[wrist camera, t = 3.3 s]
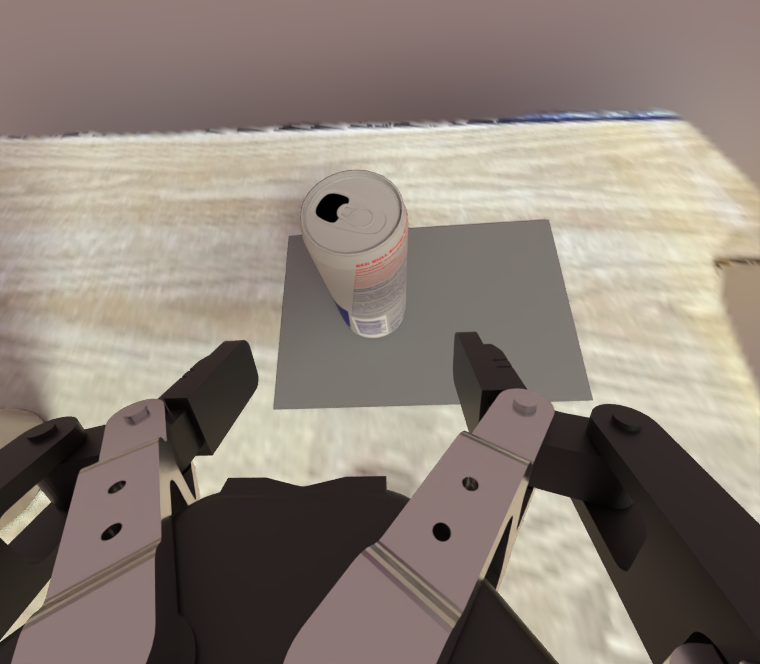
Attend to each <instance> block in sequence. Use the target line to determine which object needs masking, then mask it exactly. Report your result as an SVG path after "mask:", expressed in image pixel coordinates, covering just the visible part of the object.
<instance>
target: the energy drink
mask: <svg viewBox="0 0 760 664" xmlns="http://www.w3.org/2000/svg"><path fill="white" fill-rule="evenodd" d="M300 219H301V225H302V236H303V240H304V243H305V245H306V247H307V249H308V251H309V253H310V255H311V257H312V259H313V261H314V263H315V265H316V267H317V269H318V271H319V273H320V275H321V277H322V279H323V281H324V282H325V284H326V286H327V288H328V290H329V292H330V294H331V296H332V298H333V300H334V302H335V304H336V306H337V308H338V310H339V312H340V314H341V316H342V317H343V319H344V321H345V323H346V325H347V326H348V327H349V329H350V330H352V331H353V332H354V333H356V334H357V335H359V336H362V337H365V338H380V337H384V336H386V335H388V334H390V333H392V332H393V331H395V330H396V329H397V328H398V327H399V325H400V324H401V322H402V321H403V318H404V316H405V310H406V283H407V252H408V214H407V210H406V207H405V205H404V203H403V200H402V196H401V194H400V192H399V191H398V189H397V187H396V186H395V185H394V184H393V183H392V182H391V181H390V180H388V179H387V178H385V177H384V176H382V175H379V174H377V173H374V172H370V171H366V170H347V171H343V172H339V173H336V174H333V175H331V176H328V177H327V178H325V179H323V180H322V181H320V182H319V183H318V184H317V185H315V186H314V187H313V188H312V189H311V191H310V192H309V193H308V194H307V196H306V198H305V200H304V202H303V205H302V208H301V216H300Z"/></svg>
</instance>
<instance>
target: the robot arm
mask: <svg viewBox="0 0 760 664" xmlns="http://www.w3.org/2000/svg"><path fill="white" fill-rule="evenodd" d="M453 380H454V385H455V388H456V391H457V394H458V398H459V401H460V404H461V407H462V411H463V414H464V417H465V420H466V424H467V427H468V430H469V432H466V431H462V432H461V433H460V434H459V435H458V436H457V438H456V439H455V440H454V442H453V443H452V444H451V446H450V447H449V448H448V450H447V451H446V452H445V454H444V455H443V456H442V458H441V459H440V460H439V462H438V463H437V464H436V466H435V467H434V468H433V470H432V471H431V472H430V474H429V475H428V476H427V478H426V479H425V480H424V482H423V483H422V484H421V486H420V487H419V488H418V490H417V491H416V492H415V494H414V495H413V496H412V498H411V499H410V498H408V497H406V496H404V495H402V494H399V493H397V492H394V491H390V490H387V481H386V476H363V477H343V478H339V479H335V480H330V481H326V482H322V483H318V484H314V485H309V486H297V485H293V484H289V483H285V482H281V481H277V480H273V479H270V478H228V479H227V481H226V483H225V484H224V486H223V488H222V490H221V491H220V492H219V493H216V494H213V495H210V496H207V497H204V498H202V499H200V493H199V487H198V481H197V475H196V469H195V466H194V464H193V462H192V460H193V459H194V457H195V456H208V455H213V454H214V452H215V451H216V449H217V448H218V446H219V445H220V443H221V442H222V440H223V439H224V437H225V436H226V434H227V433H228V431H229V430H230V428H231V427H232V425H233V424H234V422H235V421H236V419H237V418H238V416H239V415H240V413H241V412H242V410H243V409H244V407H245V406H246V404H247V403H248V401H249V400H250V398H251V397H252V395H253V394H254V392H255V390H256V389H257V386H258V373H257V369H256V366H255V362H254V359H253V355H252V352H251V349H250V346H249V344H248V342H247V341H245V340H239V341H225V342H223V343H222V344H221V345H220V346H219V347H218V348H217V349H216V350H214V351H213V352H212V353H211V354H210V355H209V356H207V357H205V358H204V359H202V360H200V361H198V362H197V363H196V364H195V365H194V366H193V367H192V368H191V369H190V371H188V372H187V373H185V374H184V375H183V376H182V378H180V379H179V380H178V381H177V382H176V383H175V384H173V385H172V386H171V387H170V388H169V389H168V390H167V391H166V392H165V393H164V394H163V395H161V396H160V397H159V398H158V399H147V400H143V401H139V402H136V403H134V404H131V405H129V406H127V407H125V408H123V409H121V410H120V411H118V412H117V413H115V414H114V415H113V416H112V417H111V418H110V419H109V420H108V422H107V423H106V425H102V426H98V427H93V428H89V429H84V428H83V427H82V425H81V424H80V422H79V421H78V419H77V418H75V417H61V418H56V419H53V420H50V421H47V422H43V421H42V420H41V418H40V417H39V416H37V415H35V414H34V413H32V412H30V411H25V410H21V409H6V408H0V529H2V528H3V527H5V526H6V525H7V524H9V523H10V522H12V521H13V520H14V519H15V518H16V517H17V516H19V515H20V514H21V513H22V512H23V511H24V510H25V509H26V507H27V506H28V505H29V504H30V502H31V501H32V500H33V499H34V497H35V496H36V494H37V492H38V491H39V489H41V490H42V491H43V492H44V494H45V495H46V496H47V497H48V498H49V500H50V501H51V503H50V504H49V505H48V506H47V507H46V508H45V509H44V510H43V511H42V512H41V513H40V514H39V515H38V516H37V517H36V518H35V519H34V520H33V521H32V522H31V523H30V524H29V525H28V526H27V527H26V528H25V529H24V530H23V531H22V532H21V533H20V534H19V535H18V536H17V537H16V538H14V539H13V540H12V541H11V542H10V543H9V544H8V545H7V544H6V543H5V542H4V541H3V540H2V539H1V538H0V640H1V639H2V637H3V636H4V635H5V634H6V632H7V631H8V630H9V629H10V628H11V626H12V625H13V624H14V623H15V621H16V620H17V619H18V618H19V616H20V615H21V614H22V613H23V612H24V610H25V609H26V608H27V607H28V605H29V604H30V603H31V602H32V601H33V599H34V598H35V597H36V596H37V594H38V593H39V592H40V591H41V590H42V588H43V587H44V586H45V585H46V583H47V582H48V581H49V580H50V579H51V580H50V584H49V588H48V591H47V595H46V599H45V601H44V603H43V605H42V607H41V608H40V609H39V610H38V611H37V612H35V613H34V614H33V615H32V616H31V617H30V618H29V619H28V620H27V622H26V623H25V624H24V625H23V626H21V627H20V628H19V629H17V630H16V631H14V632H13V633H12V634H10V635H9V636H8V637H6V638H5V639H4V640H2V641H1V642H0V664H559V663H558V662H557V661H556V660H555V659H554V658H553V656H552V655H551V654H550V653H549V652H548V651H547V649H546V648H545V647H544V646H543V645H542V644H541V642H540V641H539V640H538V639H537V638H536V637H535V635H534V634H533V633H532V632H531V631H530V630H529V628H528V627H527V626H526V625H525V624H524V623H523V621H522V620H521V619H520V618H519V617H518V615H517V614H516V613H515V612H514V611H513V610H512V608H511V607H510V606H509V605H508V604H507V603H506V601H505V600H504V599H503V598H502V597H501V596H500V594H499V593H498V590H499V587H500V584H501V582H502V579H503V576H504V574H505V571H506V568H507V565H508V562H509V559H510V556H511V552H512V549H513V546H514V543H515V540H516V537H517V535H518V532H519V530H520V527H521V525H522V522H523V519H524V517H525V514H526V512H527V509H528V507H529V504H530V501H531V499H532V496H533V494H534V491H535V488H537V489H541V490H545V491H548V492H552V493H556V494H559V495H563V496H567V497H570V498H571V500H572V502H573V504H574V506H575V508H576V510H577V512H578V514H579V516H580V518H581V520H582V522H583V524H584V526H585V528H586V530H587V532H588V534H589V536H590V538H591V540H592V542H593V544H594V546H595V548H596V550H597V552H598V554H599V556H600V558H601V560H602V562H603V564H604V566H605V568H606V570H607V572H608V574H609V576H610V578H611V580H612V582H613V584H614V586H615V588H616V590H617V592H618V594H619V596H620V598H621V600H622V602H623V604H624V606H625V608H626V610H627V613H628V615H629V617H630V619H631V621H632V623H633V625H634V627H635V629H636V631H637V633H638V635H639V637H640V639H641V641H642V643H643V645H644V647H645V649H646V651H647V653H648V655H649V657H650V659H651V661H652V663H653V664H760V524H759V523H758V522H757V521H756V520H755V519H754V518H753V517H752V516H751V515H750V514H749V513H748V512H747V511H746V510H745V509H744V508H743V507H742V506H741V505H740V504H739V503H738V502H737V501H736V500H734V499H733V498H732V497H731V496H730V495H729V494H728V493H727V492H726V491H725V490H724V489H723V488H722V487H721V486H720V485H719V484H718V483H717V482H716V481H715V480H714V479H713V478H712V477H711V476H710V475H709V474H708V473H707V472H706V471H705V470H704V469H703V468H702V467H701V466H700V465H699V464H698V463H697V462H696V461H695V460H694V459H693V458H692V457H691V456H690V455H689V454H688V453H687V452H686V451H685V450H684V449H683V448H682V447H681V446H680V445H679V444H678V443H677V442H676V441H675V440H674V439H673V438H672V437H671V436H670V435H669V434H668V433H667V432H666V431H665V430H664V429H663V428H662V427H661V426H660V425H659V424H658V423H656V422H655V421H654V420H653V419H651V418H650V417H649V416H647V415H645V414H643V413H641V412H639V411H637V410H635V409H632V408H629V407H626V406H621V405H616V404H603V405H599V406H596V407H595V408H594V409H593V410H592V412H591V415H590V418H588V417H583V416H577V415H572V414H567V413H562V412H558V411H555V410H554V407H553V405H552V404H551V402H550V401H549V400H548V399H546V398H545V397H544V396H542V395H540V394H538V393H536V392H533V391H530V390H527V388H526V387H525V385H524V383H523V382H522V380H521V379H520V377H519V376H518V374H517V373H516V371H515V370H514V368H512V365H511V364H510V362H509V361H508V359H507V357H506V356H505V354H504V353H503V351H502V350H500V349H499V348H497V347H496V346H494V345H493V344H483V342H482V340H481V339H480V337H479V335H478V333H477V332H476V331H473V332H456V333H455V336H454V354H453Z"/></svg>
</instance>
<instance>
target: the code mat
mask: <svg viewBox="0 0 760 664" xmlns="http://www.w3.org/2000/svg"><path fill="white" fill-rule="evenodd" d="M473 331H476V332H477V333H478V335H479V337H480V339H481V340H482V342H483V344H493V345H494V346H496V347H497V348H499V349H500V350H502V351H503V353H504V354H505V356H506V357H507V359H508V361H509V362H510V364H511V365H512V368H514V370H515V371H516V373H517V374H518V376H519V377H520V379H521V380H522V382H523V383H524V385H525V387H526V388H527V390H530V391H533V392H536V393H538V394H540V395H542V396H544V397H545V398H546V399H548V400H549V401H550V402H552V401H587V400H593V398H592V394H591V390H590V386H589V382H588V378H587V374H586V370H585V366H584V362H583V358H582V353H581V349H580V345H579V341H578V337H577V333H576V329H575V325H574V321H573V317H572V313H571V308H570V304H569V300H568V296H567V292H566V288H565V284H564V280H563V276H562V272H561V268H560V263H559V259H558V255H557V251H556V247H555V243H554V239H553V235H552V231H551V227H550V223H549V220H537V221H521V222H505V223H489V224H473V225H457V226H441V227H426V228H410V229H408V252H407V283H406V310H405V316H404V318H403V321H402V322H401V324H400V325H399V327H398V328H397V329H396V330H395V331H393V332H392V333H390V334H388V335H386V336H384V337H380V338H365V337H362V336H359V335H357V334H356V333H354V332H353V331H352V330H350V329H349V327H348V326H347V325H346V323H345V321H344V319H343V317H342V316H341V314H340V312H339V310H338V308H337V306H336V304H335V302H334V300H333V298H332V296H331V294H330V292H329V290H328V288H327V286H326V284H325V282H324V281H323V279H322V277H321V275H320V273H319V271H318V269H317V267H316V265H315V263H314V261H313V259H312V257H311V255H310V253H309V251H308V249H307V247H306V245H305V243H304V240H303V236H302V235H298V236H289V241H288V252H287V263H286V275H285V286H284V297H283V308H282V320H281V331H280V342H279V354H278V365H277V376H276V387H275V399H274V409H308V408H343V407H378V406H413V405H448V404H460V401H459V398H458V394H457V391H456V388H455V385H454V380H453V354H454V336H455V333H456V332H473Z"/></svg>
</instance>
